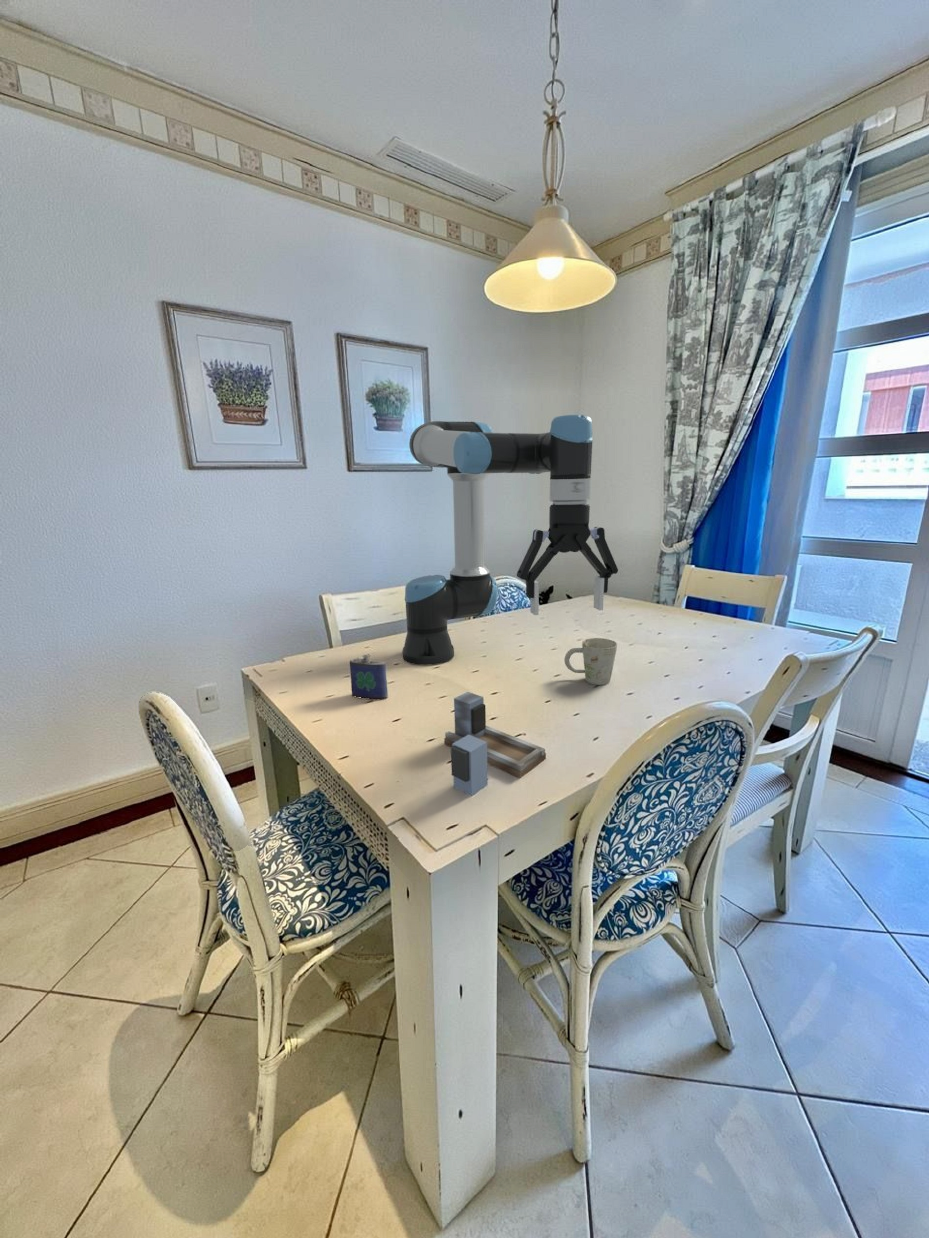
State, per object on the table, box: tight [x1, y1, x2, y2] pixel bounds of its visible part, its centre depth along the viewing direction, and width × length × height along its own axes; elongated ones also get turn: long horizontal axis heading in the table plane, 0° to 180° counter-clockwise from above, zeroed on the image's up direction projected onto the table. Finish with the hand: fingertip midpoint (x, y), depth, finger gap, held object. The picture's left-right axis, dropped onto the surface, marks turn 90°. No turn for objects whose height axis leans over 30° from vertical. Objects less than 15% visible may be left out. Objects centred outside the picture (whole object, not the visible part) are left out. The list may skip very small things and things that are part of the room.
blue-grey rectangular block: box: [450, 735, 488, 797], centre depth 81 cm, size 4×5×8 cm
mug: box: [564, 637, 618, 686], centre depth 123 cm, size 8×13×10 cm, turn 78°
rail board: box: [443, 691, 547, 779], centre depth 91 cm, size 18×8×9 cm, turn 48°
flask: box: [349, 653, 389, 700], centre depth 117 cm, size 9×3×11 cm, turn 74°
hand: (566, 611), depth 99 cm, fingers open, 13 cm apart
